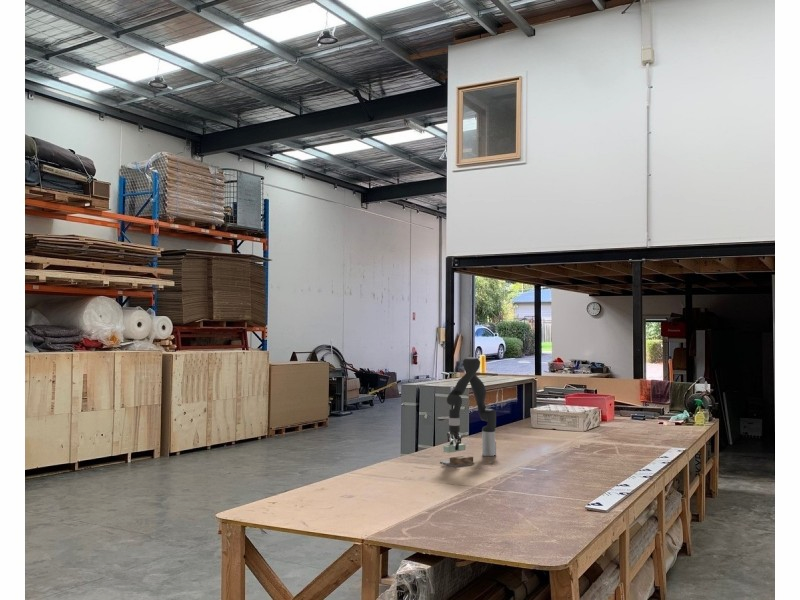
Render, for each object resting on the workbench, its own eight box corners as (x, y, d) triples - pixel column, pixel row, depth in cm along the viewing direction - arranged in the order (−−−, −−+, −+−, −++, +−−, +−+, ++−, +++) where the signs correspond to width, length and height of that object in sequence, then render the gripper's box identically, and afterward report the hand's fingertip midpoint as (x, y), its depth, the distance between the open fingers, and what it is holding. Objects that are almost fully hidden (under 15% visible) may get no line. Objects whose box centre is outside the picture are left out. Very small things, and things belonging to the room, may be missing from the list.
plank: (460, 449, 454) (460, 443, 454) (465, 450, 450) (465, 444, 450) (443, 451, 444) (443, 445, 444) (448, 452, 440) (448, 446, 440)
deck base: (461, 460, 455) (461, 458, 455) (474, 464, 442) (474, 462, 442) (439, 462, 446) (439, 461, 446) (452, 466, 433) (452, 465, 433)
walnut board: (468, 461, 446) (468, 455, 446) (473, 462, 442) (473, 456, 442) (449, 463, 438) (449, 457, 438) (454, 465, 433) (454, 459, 434)
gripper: (465, 425, 444) (465, 450, 443) (452, 422, 456) (452, 447, 455) (456, 426, 440) (456, 451, 439) (443, 423, 452) (443, 448, 451)
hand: (454, 449), depth 447 cm, fingers closed on plank, 5 cm apart
